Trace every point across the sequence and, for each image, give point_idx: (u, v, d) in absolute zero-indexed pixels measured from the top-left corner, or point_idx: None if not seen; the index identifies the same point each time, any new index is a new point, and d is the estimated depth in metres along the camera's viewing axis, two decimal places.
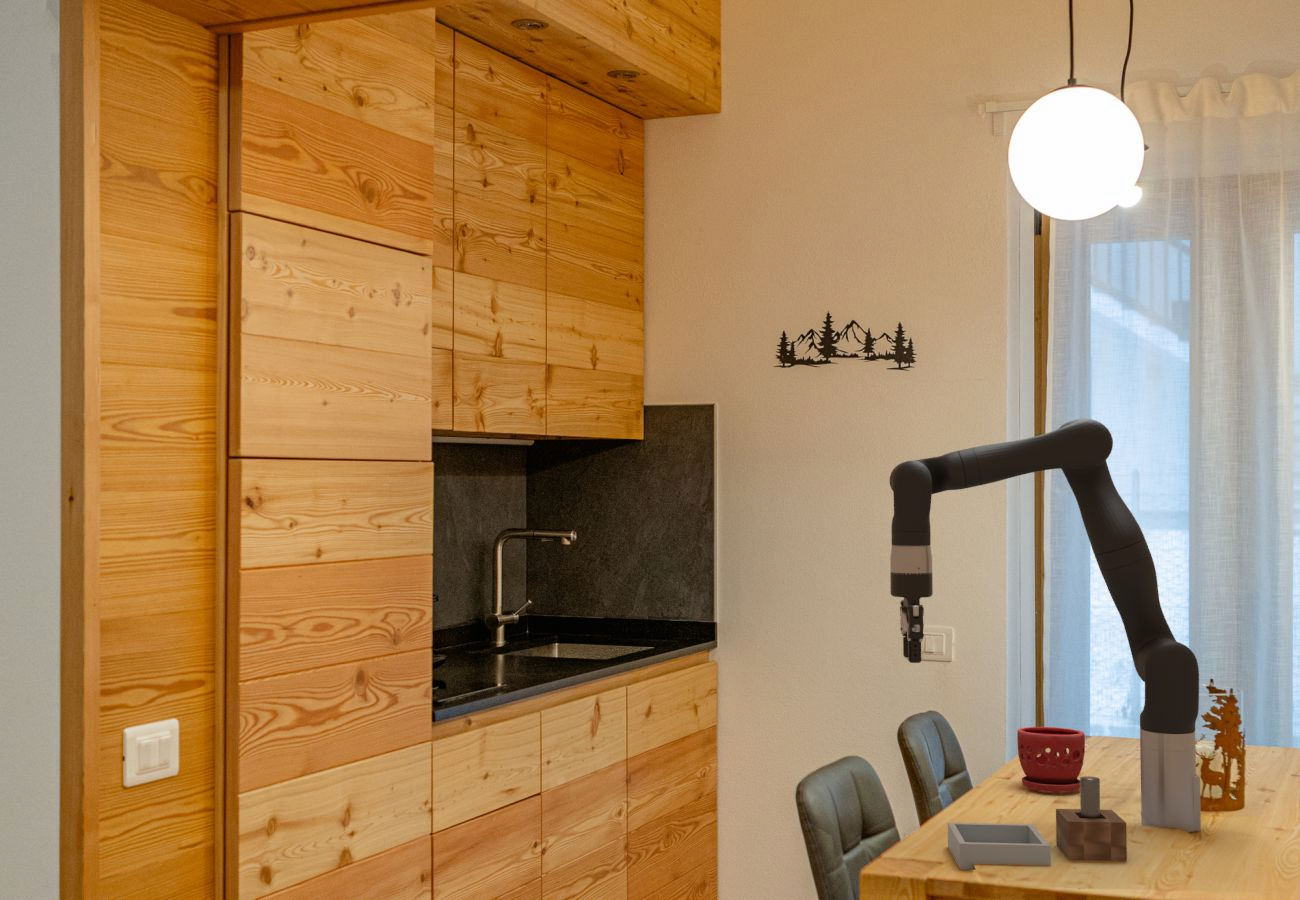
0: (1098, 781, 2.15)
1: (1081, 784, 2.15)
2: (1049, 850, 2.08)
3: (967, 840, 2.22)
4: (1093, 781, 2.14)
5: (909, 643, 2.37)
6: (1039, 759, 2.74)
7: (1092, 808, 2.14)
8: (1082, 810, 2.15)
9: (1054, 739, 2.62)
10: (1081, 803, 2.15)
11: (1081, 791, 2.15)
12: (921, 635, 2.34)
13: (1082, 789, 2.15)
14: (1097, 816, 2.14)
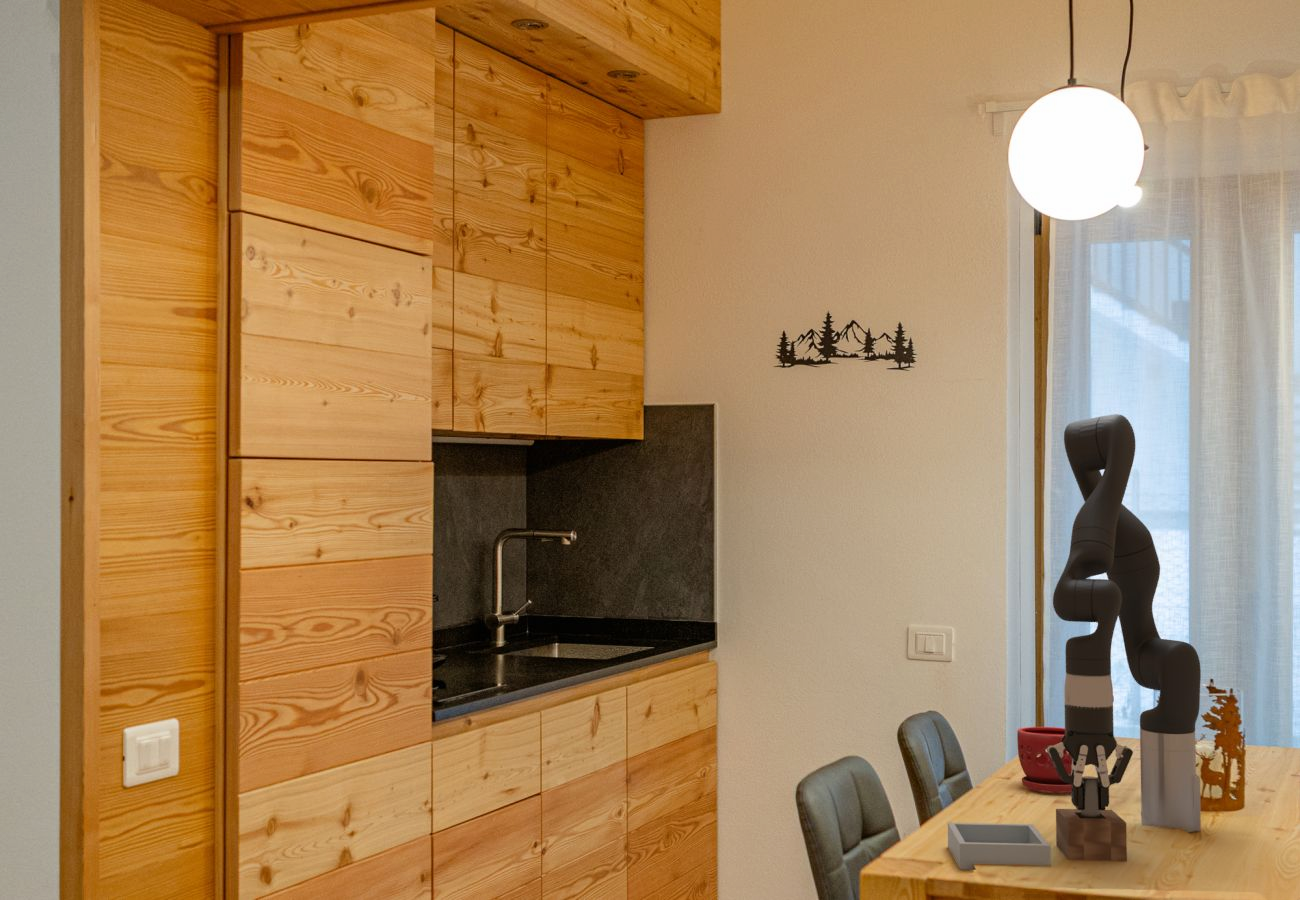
0: (1098, 781, 2.15)
1: (1081, 784, 2.15)
2: (1049, 850, 2.08)
3: (967, 840, 2.22)
4: (1093, 781, 2.14)
5: (1104, 789, 2.14)
6: (1039, 759, 2.74)
7: (1092, 808, 2.14)
8: (1082, 810, 2.15)
9: (1054, 739, 2.62)
10: None
11: None
12: None
13: None
14: (1097, 816, 2.14)
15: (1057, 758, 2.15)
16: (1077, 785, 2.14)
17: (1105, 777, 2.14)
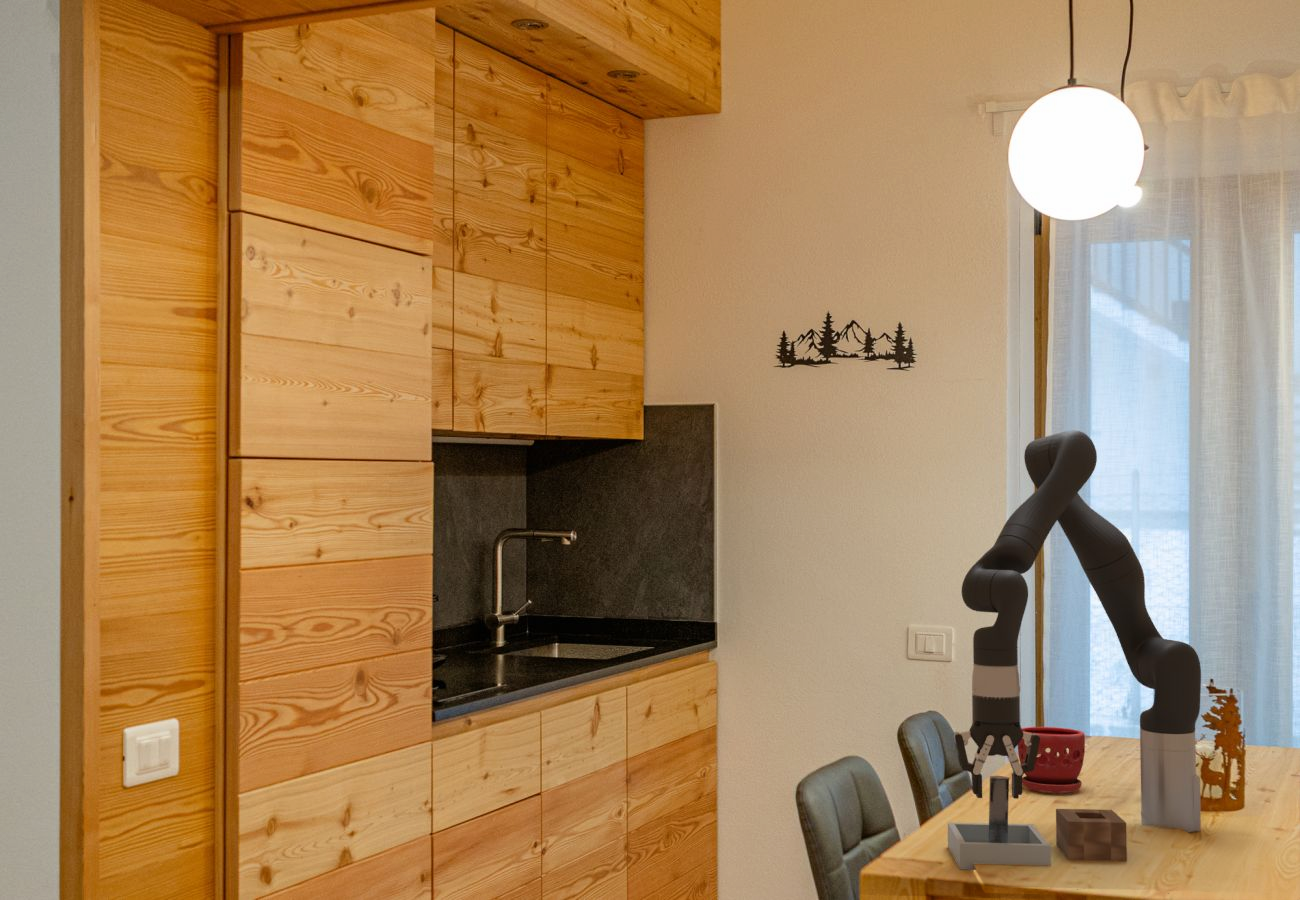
0: (1007, 781, 2.15)
1: (990, 783, 2.15)
2: (1049, 850, 2.08)
3: (967, 840, 2.22)
4: (1002, 781, 2.14)
5: (1017, 777, 2.15)
6: (1039, 759, 2.74)
7: (1000, 808, 2.14)
8: (990, 809, 2.15)
9: (1054, 739, 2.62)
10: (990, 802, 2.15)
11: (990, 790, 2.15)
12: None
13: (991, 788, 2.15)
14: (1005, 816, 2.14)
15: (961, 745, 2.15)
16: (976, 773, 2.15)
17: (1018, 765, 2.14)
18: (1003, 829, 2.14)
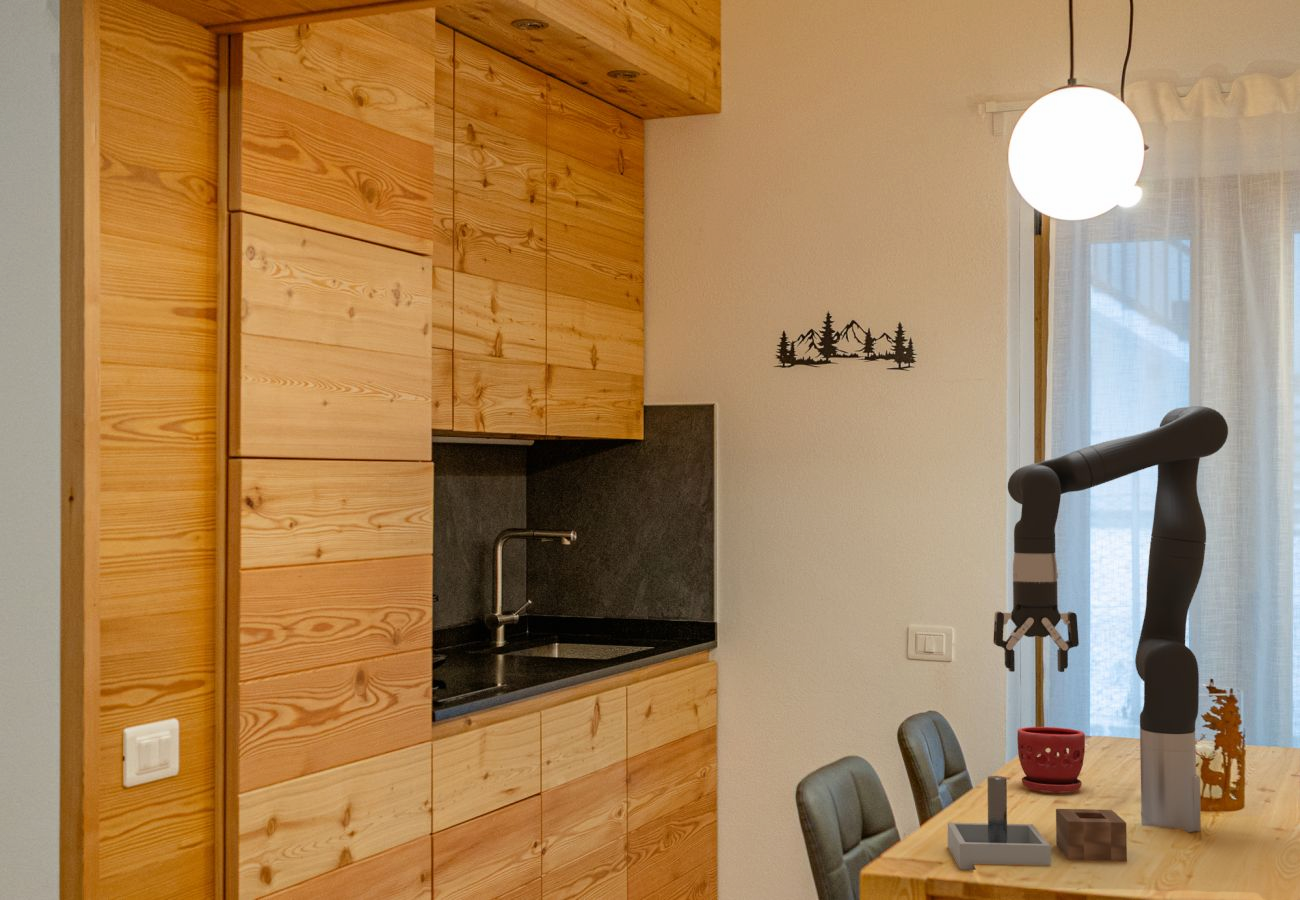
0: (1005, 781, 2.15)
1: (988, 784, 2.16)
2: (1049, 850, 2.08)
3: (967, 840, 2.22)
4: (1000, 781, 2.14)
5: (1063, 652, 2.32)
6: (1039, 759, 2.74)
7: (999, 808, 2.14)
8: (989, 810, 2.15)
9: (1054, 739, 2.62)
10: (988, 803, 2.16)
11: (988, 790, 2.15)
12: None
13: (989, 789, 2.15)
14: (1004, 816, 2.14)
15: (1000, 623, 2.33)
16: (1009, 649, 2.33)
17: (1064, 641, 2.32)
18: (1002, 829, 2.14)
